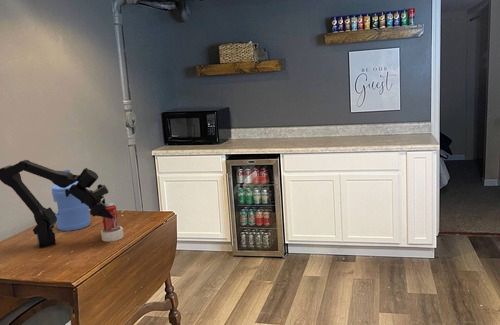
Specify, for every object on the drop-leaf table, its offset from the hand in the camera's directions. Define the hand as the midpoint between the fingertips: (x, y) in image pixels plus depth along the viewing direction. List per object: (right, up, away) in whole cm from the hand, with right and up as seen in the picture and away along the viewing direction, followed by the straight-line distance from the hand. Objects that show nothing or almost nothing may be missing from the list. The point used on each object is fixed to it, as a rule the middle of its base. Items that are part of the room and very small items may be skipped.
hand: (112, 215), depth 211 cm
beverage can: (-1, -7, +1) cm, 7 cm away
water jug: (-26, -8, +24) cm, 36 cm away
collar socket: (0, -10, +1) cm, 10 cm away
